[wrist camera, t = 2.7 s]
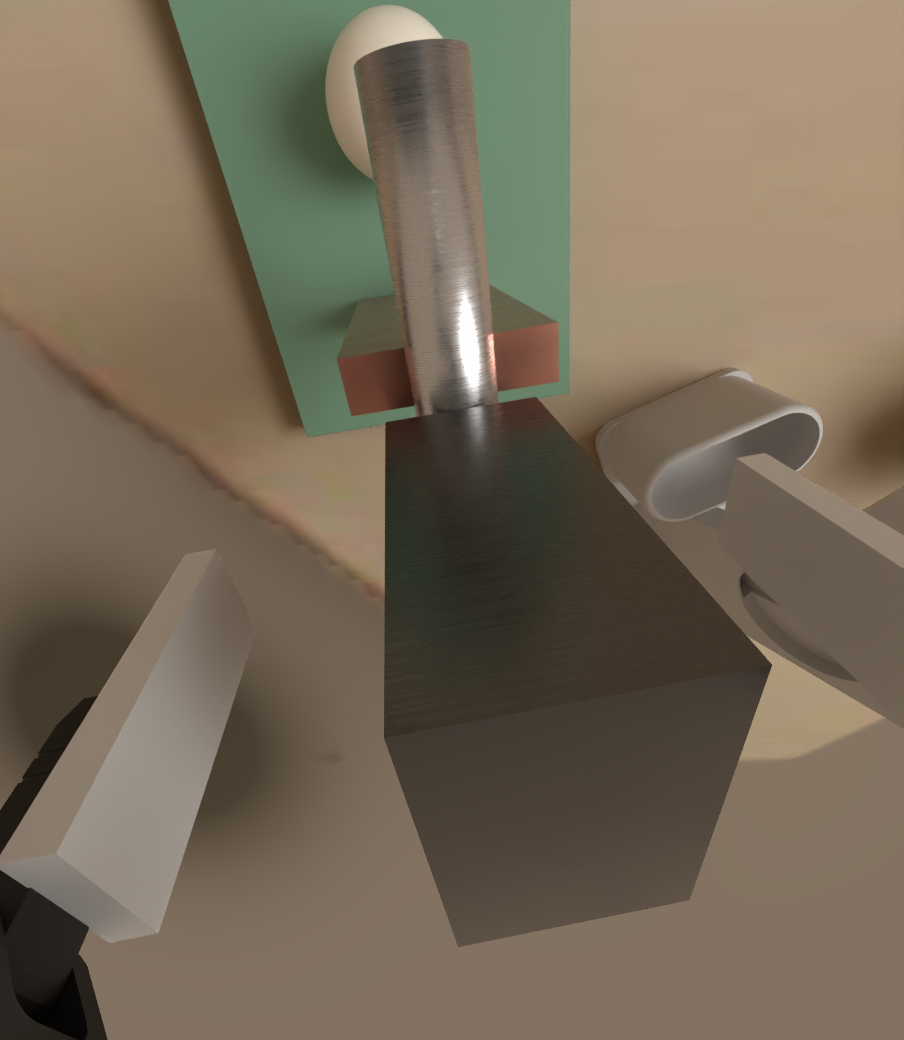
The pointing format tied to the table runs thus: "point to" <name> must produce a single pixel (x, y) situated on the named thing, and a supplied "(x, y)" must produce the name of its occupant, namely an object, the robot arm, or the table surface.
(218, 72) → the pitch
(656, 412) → the phone holder
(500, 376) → the multicoloured piece
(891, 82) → the table surface
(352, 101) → the ball
